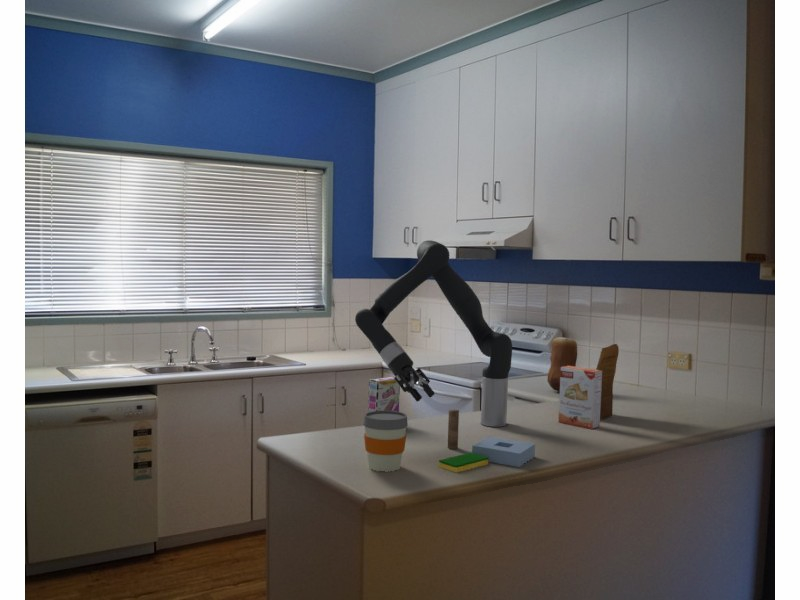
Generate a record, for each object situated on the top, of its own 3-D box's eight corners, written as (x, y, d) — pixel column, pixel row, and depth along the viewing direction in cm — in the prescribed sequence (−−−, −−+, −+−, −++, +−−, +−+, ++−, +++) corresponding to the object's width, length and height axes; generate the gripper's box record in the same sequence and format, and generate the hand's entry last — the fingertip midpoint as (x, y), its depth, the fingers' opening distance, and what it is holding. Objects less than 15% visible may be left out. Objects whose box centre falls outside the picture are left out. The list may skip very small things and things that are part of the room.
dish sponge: (438, 468, 209) (438, 459, 209) (470, 459, 218) (470, 451, 218) (456, 474, 204) (456, 465, 203) (488, 465, 213) (488, 457, 213)
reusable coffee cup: (370, 459, 215) (372, 408, 214) (411, 463, 211) (413, 412, 210) (356, 470, 203) (357, 417, 202) (399, 476, 199) (400, 421, 198)
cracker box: (557, 422, 268) (559, 366, 267) (565, 420, 273) (568, 365, 271) (592, 429, 259) (594, 371, 258) (600, 427, 263) (602, 369, 262)
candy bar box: (376, 428, 253) (377, 381, 252) (366, 425, 256) (368, 379, 255) (399, 423, 260) (400, 378, 259) (389, 421, 264) (391, 376, 263)
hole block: (488, 449, 229) (489, 436, 229) (534, 456, 222) (535, 443, 221) (471, 458, 218) (472, 445, 218) (519, 467, 210) (519, 453, 210)
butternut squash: (578, 390, 334) (580, 336, 333) (578, 396, 321) (580, 339, 320) (547, 388, 337) (549, 335, 336) (546, 393, 324) (548, 338, 323)
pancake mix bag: (621, 415, 284) (625, 344, 282) (599, 422, 270) (602, 347, 268) (605, 412, 289) (608, 342, 287) (582, 419, 275) (585, 346, 273)
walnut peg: (450, 446, 231) (451, 408, 231) (459, 447, 230) (460, 410, 229) (445, 448, 229) (447, 410, 228) (455, 449, 227) (456, 411, 226)
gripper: (392, 353, 231) (423, 394, 226) (414, 349, 243) (443, 387, 238) (377, 368, 234) (407, 408, 229) (400, 363, 246) (429, 401, 241)
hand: (426, 397), depth 233 cm, fingers open, 8 cm apart
